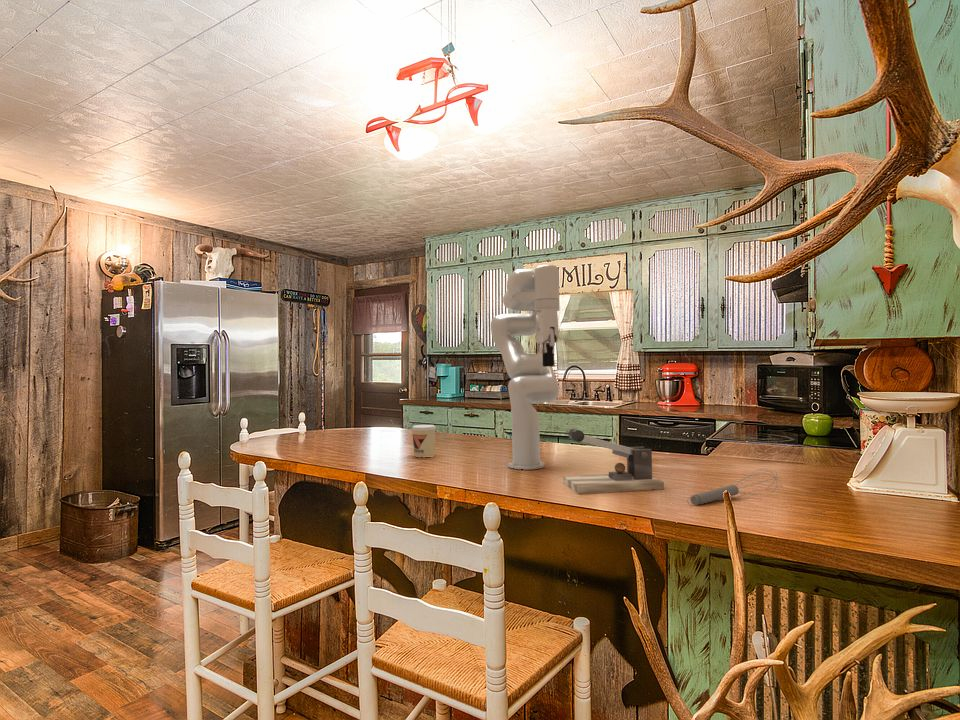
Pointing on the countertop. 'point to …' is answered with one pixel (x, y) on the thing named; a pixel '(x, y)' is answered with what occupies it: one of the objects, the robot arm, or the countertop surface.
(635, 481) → the nutcracker base
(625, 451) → the nutcracker lever
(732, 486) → the kitchen whisk
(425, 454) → the coffee cup
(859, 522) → the countertop surface
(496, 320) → the robot arm
